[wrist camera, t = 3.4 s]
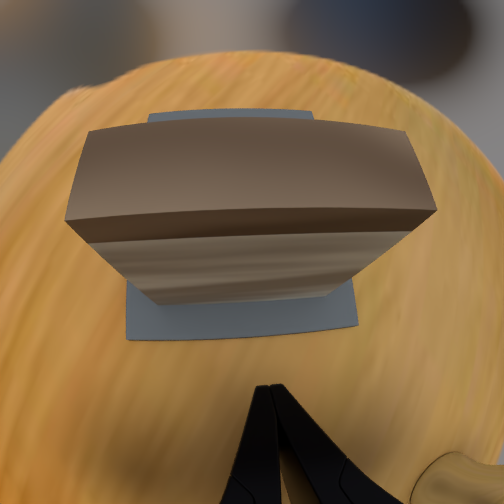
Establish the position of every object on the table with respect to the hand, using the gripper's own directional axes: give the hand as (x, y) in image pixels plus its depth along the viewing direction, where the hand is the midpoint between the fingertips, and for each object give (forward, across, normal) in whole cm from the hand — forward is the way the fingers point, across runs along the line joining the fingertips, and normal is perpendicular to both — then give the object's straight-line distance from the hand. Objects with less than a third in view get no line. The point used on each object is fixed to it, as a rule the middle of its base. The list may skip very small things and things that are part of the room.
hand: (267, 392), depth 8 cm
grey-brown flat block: (+9, 0, +1) cm, 9 cm away
